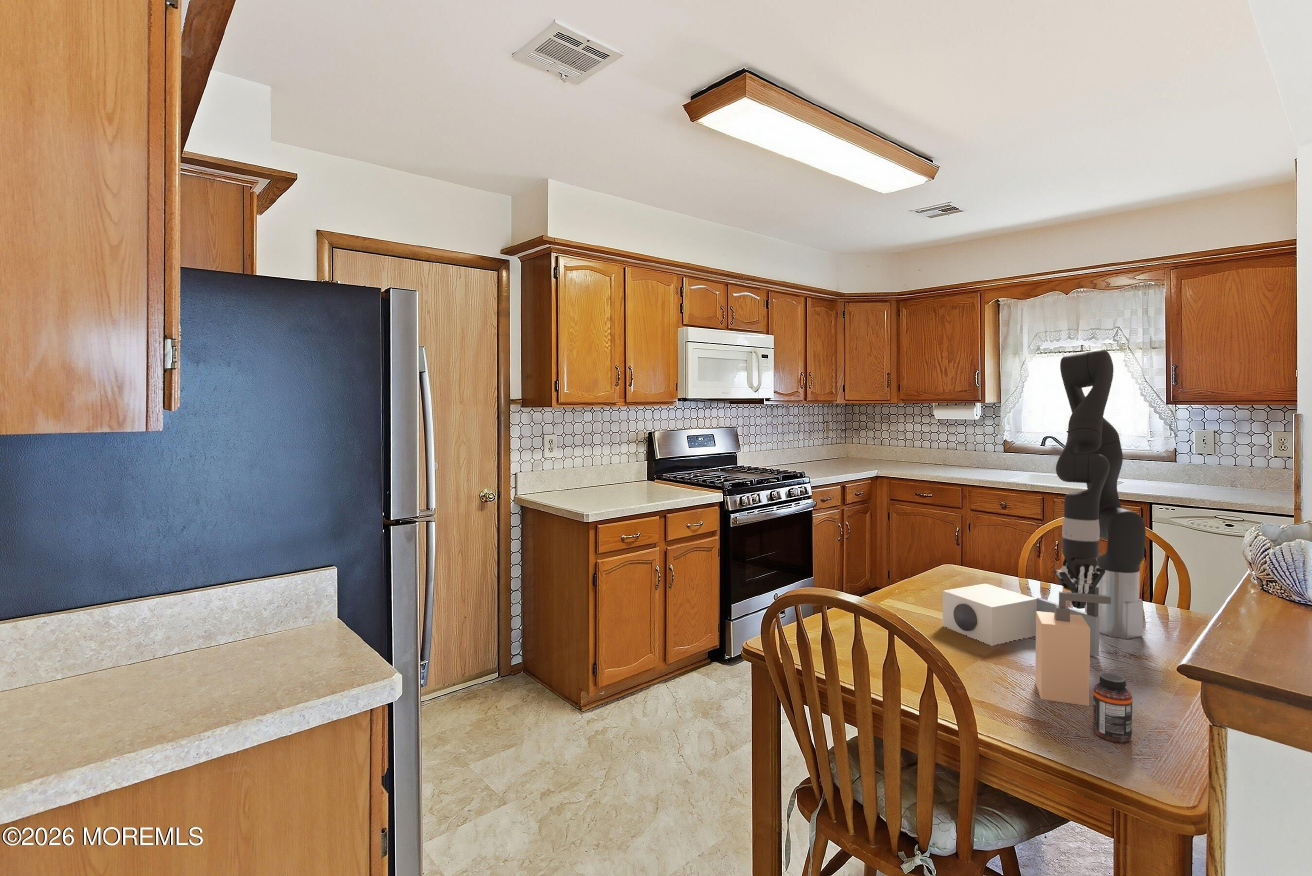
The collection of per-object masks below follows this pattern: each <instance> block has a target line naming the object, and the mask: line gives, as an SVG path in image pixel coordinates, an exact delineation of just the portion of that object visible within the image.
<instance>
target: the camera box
mask: <svg viewBox="0 0 1312 876" xmlns="http://www.w3.org/2000/svg"><path fill="white" fill-rule="evenodd" d="M1036 611H1037V598H1035V597H1032V596H1028V595H1026V594H1022V593H1019V592H1015V591H1012V590H1009V589H1005V588H1002V587H1000V586H999V587H998V586H995V585H992V584H989V583H987V582H986V583H981V584H975V585H970V586H969V585H968V586H963V587H956V588H951V589H945V590H942V627H943V628H946V627H947V628H946V629H948V630H951V631H954V632H956V633H959V634H962V635H964V636H966V635H967V636H966V637H968V638H970V639H974V640H976V639H977V641H978V640H979V642H981V643H983V642H984V644H986V645H988V646H991V647H993V646H996V645H997V644H998V645H1002V644H1006V643H1005V642H1007V643H1010V642H1009V641H1012V642H1014V641H1013V640H1016V641H1019V640H1018V639H1021V640H1024V639H1023V638H1025V639H1029V637H1030V638H1033V637H1032V636H1035V637H1036ZM1001 643H1002V644H1001ZM998 645H997V646H998Z"/></svg>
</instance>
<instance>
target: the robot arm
mask: <svg viewBox="0 0 1312 876" xmlns="http://www.w3.org/2000/svg"><path fill="white" fill-rule="evenodd" d="M1059 369H1060V375H1061V379H1062V383H1063V386H1064V390H1065V393H1066V396H1067V397H1066V398H1067V400H1068V403H1069V406H1070V410H1071V411H1070V412H1071V415H1070V417H1069V420H1068V426H1067V438H1066V443H1065V446H1064V447H1063V450H1061V454H1060V455H1059V456H1058V459H1057V462H1056V464H1055V472H1056V476H1057V477H1058V478H1059V479H1060V480H1061V481H1062V482H1065V483H1076V484H1079V483H1080V484H1085V485H1086V487H1087V489H1085V490H1082V491H1081V490H1080V491H1073V492H1069V493H1066V494H1065V496H1064V501H1063V520H1062V526H1061V527H1062V529H1061V530H1062V531H1061V553H1062V556H1063V558H1064V559H1063V560H1062V567H1060V569H1054V570H1053V573H1054V575H1055V577H1056V578H1057V580H1058V582H1059V583H1060V584H1061V586H1062V587H1063V588H1064V589H1065V590H1067V591H1069V592H1071V593H1083V594H1087V593H1088V591H1089V590H1094V589H1095V587H1099V595H1108V596H1110V597H1111V604H1101V603H1099V607H1098V617H1099V634H1100V633H1101V634H1103V635H1107V636H1110V637H1115V638H1120V639H1125V640H1131V639H1135V638H1139V637H1142V636H1143V627H1144V626H1143V621H1144V620H1143V618H1144V612H1143V611H1144V602H1143V599H1141V598H1140V577H1141V576H1140V573H1141V572H1140V569H1141V564H1142V562H1143V560H1144V557H1145V548H1146V547H1145V546H1146V536H1147V535H1146V531H1147V529H1146V524H1145V521H1144V519H1143V517H1142V516H1141V515H1140V514H1139V513H1138V512H1136V511H1133V510H1130V509H1127V508H1123V507H1122V504H1121V501H1120V498H1119V497H1120V496H1119V493H1118V480H1119V476H1120V473H1121V470H1122V468H1123V467H1122V466H1123V462H1124V459H1123V458H1124V456H1123V449H1122V444H1121V438H1120V434H1119V433H1118V432H1119V431H1118V430H1117V429H1116V428H1115V427H1114V425H1113V424H1112V423H1110V422H1109V421H1108V420H1107V419H1106V418H1104V413H1105V409H1106V405H1107V402H1108V399H1109V395H1110V391H1111V388H1112V384H1113V379H1114V363H1113V359H1112V357H1111V355H1110V353H1109V352H1108V351H1107V350H1106V349H1102V348H1099V349H1092V350H1086V351H1082V352H1076V353H1072V354H1067V355H1064V356H1062V358H1061V359H1060V365H1059ZM1088 387H1091V389H1090V390H1089V392H1088V393H1087V395H1085V394H1084V390H1083V388H1088ZM1100 538H1101V539H1103V540H1106V541H1107V544H1106V545H1107V546H1106V551H1105V553H1103V554H1100V540H1101V539H1100ZM1070 602H1071V606H1072V608H1074V609H1077V610H1079V609H1086V607H1087V602H1078V601H1070Z"/></svg>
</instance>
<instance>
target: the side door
mask: <svg viewBox="0 0 1312 876" xmlns="http://www.w3.org/2000/svg"><path fill="white" fill-rule="evenodd" d="M1087 594H1095V595H1099V587H1097V586H1096V587H1095V589H1094V590H1089V591H1088V593H1087ZM1036 599H1037V611H1041V612H1051V613H1054V606H1055V605H1059V603H1057V602H1054V601H1050V600H1048V599H1044V598H1041V597H1037V598H1036ZM1068 607H1069V606H1068ZM1098 607H1099V603H1090V602H1086V611H1082V610H1079V609H1077V608H1074V607H1069V609H1070V614H1072V615H1082V617H1083V618H1084V620H1085V621H1086V623H1087V624H1088V626H1089V627H1090V657H1094V658H1098V657H1100V632H1099V617H1098Z"/></svg>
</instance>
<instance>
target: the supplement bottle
mask: <svg viewBox="0 0 1312 876" xmlns="http://www.w3.org/2000/svg"><path fill="white" fill-rule="evenodd" d="M1092 693H1093V695H1092V697H1093V699H1092V700H1093V701H1092V702H1093V703H1092V707H1093V708H1092V729H1093V732H1094V734H1095V735H1097V736H1098V737H1100V738H1101V739H1103V740H1105V741H1109V742H1113V743H1119V744H1121V743H1127V742H1130V741H1131V740H1132V734H1133V694H1132V692H1131V690H1129V689H1128V688H1127V680H1126V678H1125V676H1123V675H1120V674H1117V673H1112V672H1101V673H1100V674H1099V682H1098V683H1096V684H1095V685H1094V686H1093V689H1092Z"/></svg>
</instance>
